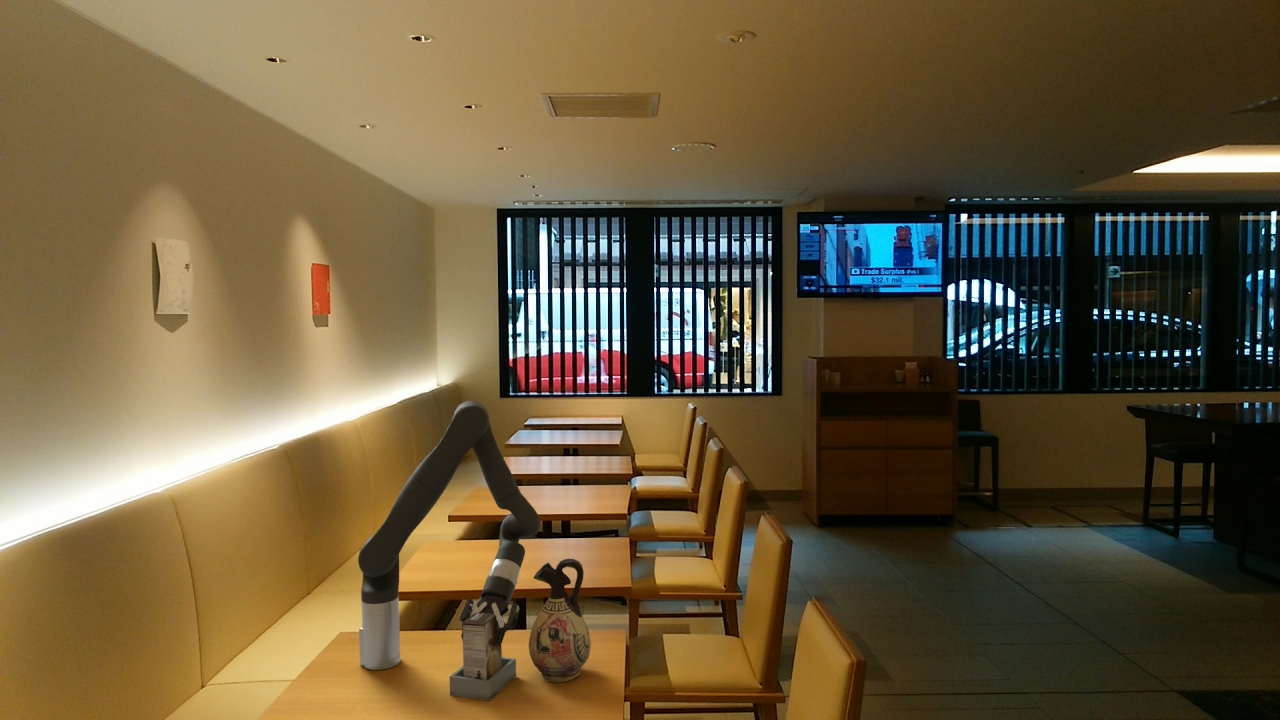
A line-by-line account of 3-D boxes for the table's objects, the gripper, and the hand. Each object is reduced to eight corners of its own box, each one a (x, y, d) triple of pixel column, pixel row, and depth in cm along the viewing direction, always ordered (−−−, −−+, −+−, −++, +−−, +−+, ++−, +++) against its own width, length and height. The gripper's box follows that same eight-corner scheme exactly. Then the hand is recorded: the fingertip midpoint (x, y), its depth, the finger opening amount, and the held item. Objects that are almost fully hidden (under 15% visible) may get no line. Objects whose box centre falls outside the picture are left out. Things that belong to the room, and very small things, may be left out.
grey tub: (449, 695, 194) (449, 676, 194) (478, 671, 207) (478, 653, 207) (489, 701, 191) (489, 682, 191) (516, 676, 204) (515, 658, 204)
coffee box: (479, 671, 205) (477, 608, 204) (503, 674, 203) (501, 610, 202) (462, 688, 196) (461, 622, 195) (487, 690, 194) (486, 624, 193)
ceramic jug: (524, 689, 197) (522, 567, 195) (534, 662, 212) (532, 548, 211) (594, 689, 197) (592, 567, 195) (599, 662, 212) (598, 548, 210)
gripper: (471, 571, 207) (448, 633, 197) (521, 576, 203) (501, 639, 193) (481, 585, 213) (460, 646, 202) (531, 590, 208) (511, 652, 198)
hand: (480, 642), depth 197 cm, fingers open, 8 cm apart
